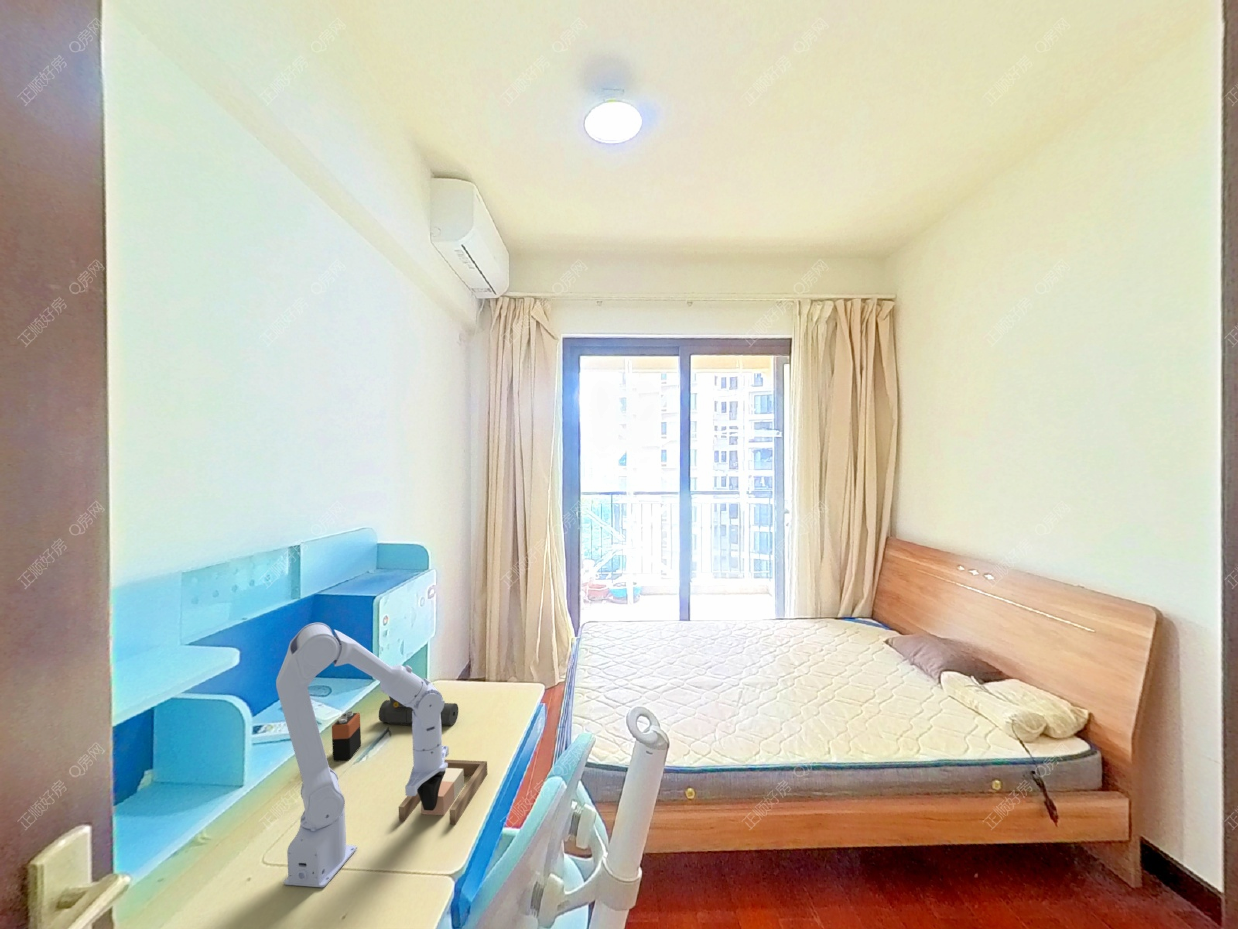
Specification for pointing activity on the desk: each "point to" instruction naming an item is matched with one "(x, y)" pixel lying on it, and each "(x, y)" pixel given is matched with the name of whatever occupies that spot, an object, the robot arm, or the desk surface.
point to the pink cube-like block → (442, 799)
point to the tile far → (455, 779)
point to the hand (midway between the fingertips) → (429, 808)
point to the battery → (346, 736)
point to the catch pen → (478, 775)
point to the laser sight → (403, 715)
